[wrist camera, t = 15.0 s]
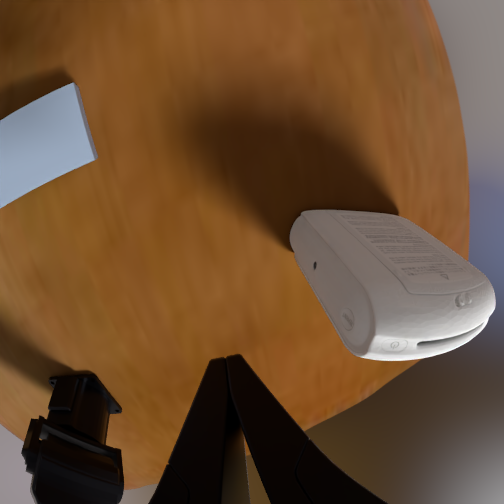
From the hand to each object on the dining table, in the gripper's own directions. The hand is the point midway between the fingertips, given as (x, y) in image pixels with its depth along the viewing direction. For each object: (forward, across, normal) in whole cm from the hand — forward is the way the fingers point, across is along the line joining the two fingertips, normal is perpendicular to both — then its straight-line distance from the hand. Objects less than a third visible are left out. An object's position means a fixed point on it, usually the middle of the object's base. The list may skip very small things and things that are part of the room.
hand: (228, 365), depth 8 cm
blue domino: (+12, +6, -8) cm, 16 cm away
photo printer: (+13, -10, +4) cm, 17 cm away
